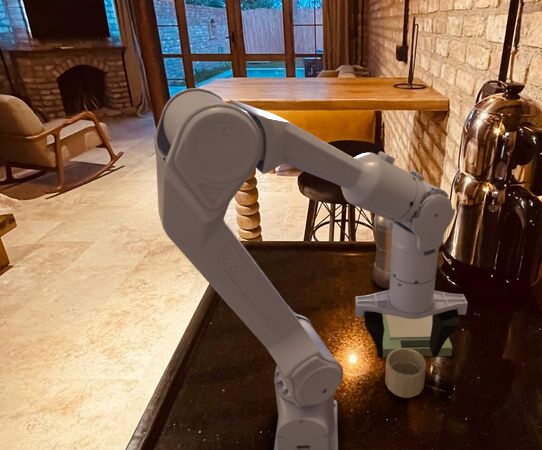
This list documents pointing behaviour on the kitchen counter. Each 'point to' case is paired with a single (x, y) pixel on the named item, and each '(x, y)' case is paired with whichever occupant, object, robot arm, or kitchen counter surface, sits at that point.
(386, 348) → the scale
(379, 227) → the metal water bottle
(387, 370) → the dip bowl
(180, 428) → the kitchen counter surface
